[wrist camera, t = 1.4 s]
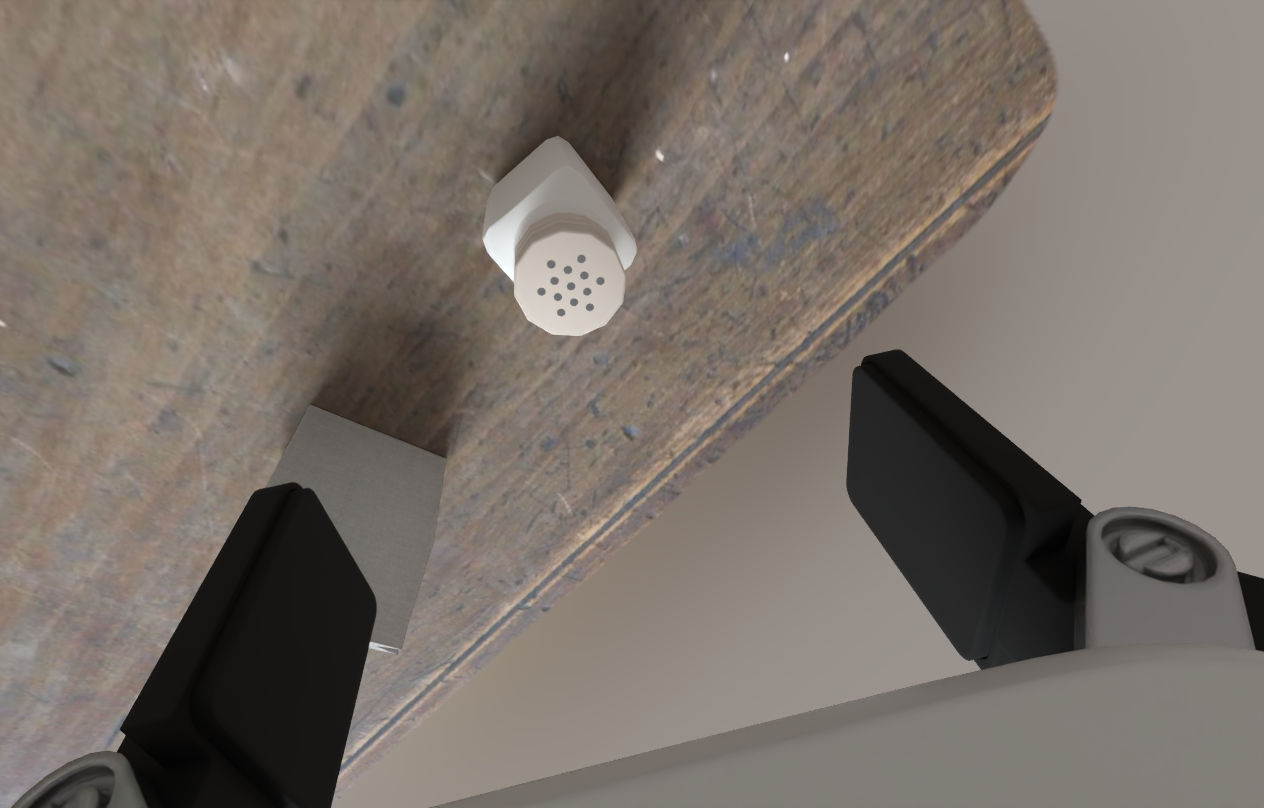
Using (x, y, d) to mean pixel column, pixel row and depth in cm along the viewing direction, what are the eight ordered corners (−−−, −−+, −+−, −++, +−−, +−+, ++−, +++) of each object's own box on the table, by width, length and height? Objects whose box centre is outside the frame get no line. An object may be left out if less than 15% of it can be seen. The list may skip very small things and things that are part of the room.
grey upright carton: (309, 404, 28) (222, 568, 20) (446, 458, 31) (421, 621, 22) (281, 460, 29) (188, 636, 21) (415, 507, 32) (380, 678, 24)
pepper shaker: (481, 194, 24) (466, 278, 16) (557, 126, 23) (580, 182, 15) (547, 267, 26) (563, 374, 18) (619, 207, 25) (668, 292, 18)
